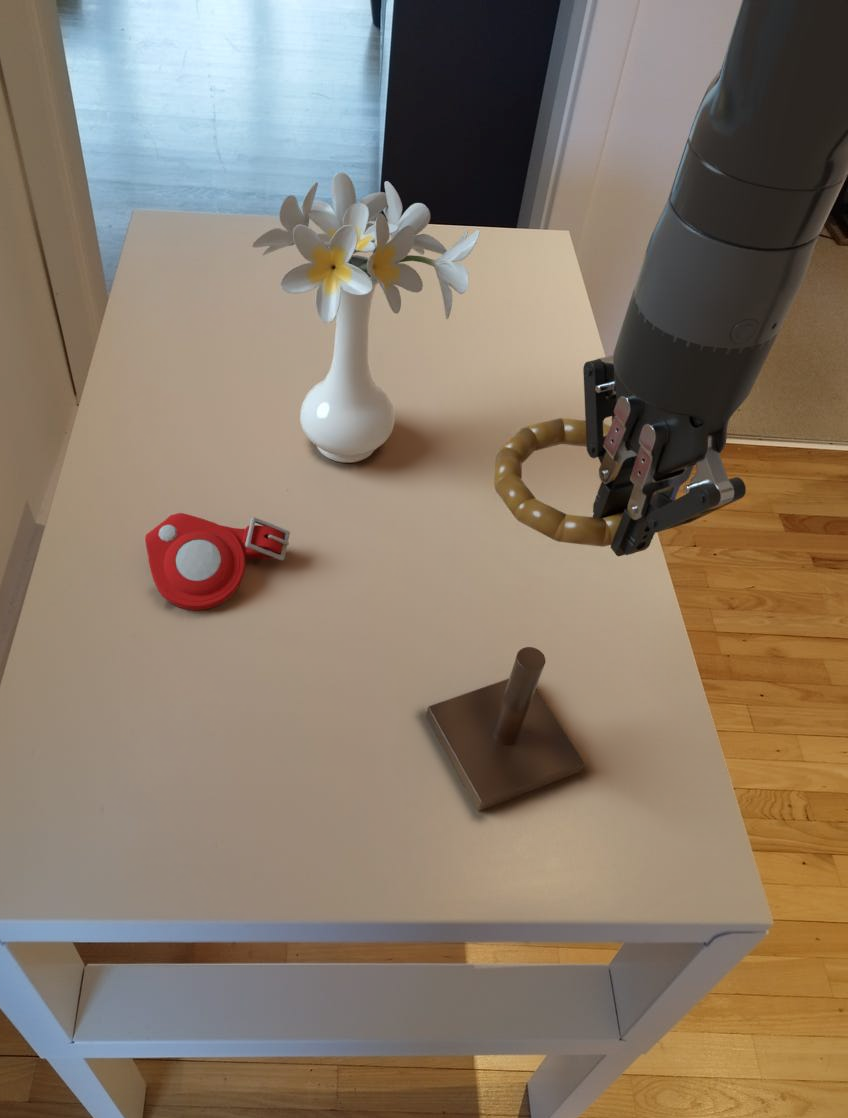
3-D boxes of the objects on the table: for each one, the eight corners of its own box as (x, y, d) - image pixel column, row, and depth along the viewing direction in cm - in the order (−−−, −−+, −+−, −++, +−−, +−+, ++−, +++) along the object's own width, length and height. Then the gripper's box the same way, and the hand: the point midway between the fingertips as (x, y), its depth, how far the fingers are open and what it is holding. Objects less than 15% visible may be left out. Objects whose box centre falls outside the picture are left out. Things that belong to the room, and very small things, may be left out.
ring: (604, 419, 67) (610, 399, 66) (697, 524, 61) (706, 504, 59) (464, 456, 64) (467, 435, 63) (546, 570, 58) (552, 550, 56)
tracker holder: (194, 625, 75) (115, 543, 77) (200, 641, 80) (125, 563, 81) (301, 533, 78) (223, 457, 80) (301, 554, 83) (227, 481, 84)
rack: (522, 682, 75) (553, 593, 66) (580, 771, 70) (621, 689, 61) (425, 716, 73) (443, 628, 64) (478, 811, 68) (505, 731, 59)
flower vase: (454, 477, 90) (499, 235, 70) (267, 491, 87) (258, 243, 67) (427, 394, 97) (460, 154, 77) (254, 404, 95) (242, 158, 75)
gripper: (860, 363, 43) (725, 597, 57) (691, 219, 51) (608, 457, 64) (732, 396, 41) (624, 630, 55) (576, 240, 48) (515, 481, 62)
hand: (616, 536), depth 60 cm, fingers closed on ring, 2 cm apart
